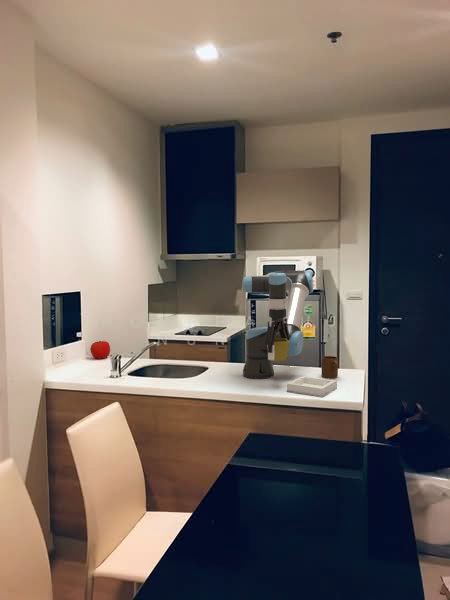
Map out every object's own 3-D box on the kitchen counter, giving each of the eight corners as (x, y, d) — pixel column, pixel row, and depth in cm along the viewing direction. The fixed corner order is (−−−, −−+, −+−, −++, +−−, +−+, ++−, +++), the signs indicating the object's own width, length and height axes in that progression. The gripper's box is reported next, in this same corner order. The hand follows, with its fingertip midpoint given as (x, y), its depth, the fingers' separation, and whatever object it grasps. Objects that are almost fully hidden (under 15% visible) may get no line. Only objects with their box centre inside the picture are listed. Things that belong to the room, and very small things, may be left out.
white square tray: (286, 391, 214) (286, 383, 213) (302, 383, 227) (302, 376, 227) (322, 397, 205) (322, 388, 205) (336, 388, 218) (336, 380, 218)
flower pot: (269, 362, 219) (269, 342, 218) (266, 358, 227) (266, 338, 226) (289, 362, 219) (289, 341, 218) (285, 357, 228) (285, 338, 227)
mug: (344, 380, 232) (345, 360, 232) (329, 381, 231) (329, 361, 230) (333, 374, 244) (333, 355, 243) (318, 375, 242) (319, 356, 241)
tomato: (114, 356, 294) (113, 338, 294) (105, 360, 282) (104, 342, 281) (96, 355, 297) (95, 338, 296) (86, 360, 284) (85, 342, 283)
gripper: (272, 311, 209) (272, 363, 211) (297, 306, 229) (297, 353, 231) (256, 310, 213) (256, 361, 215) (282, 305, 233) (282, 351, 235)
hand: (277, 357), depth 223 cm, fingers closed on flower pot, 11 cm apart
